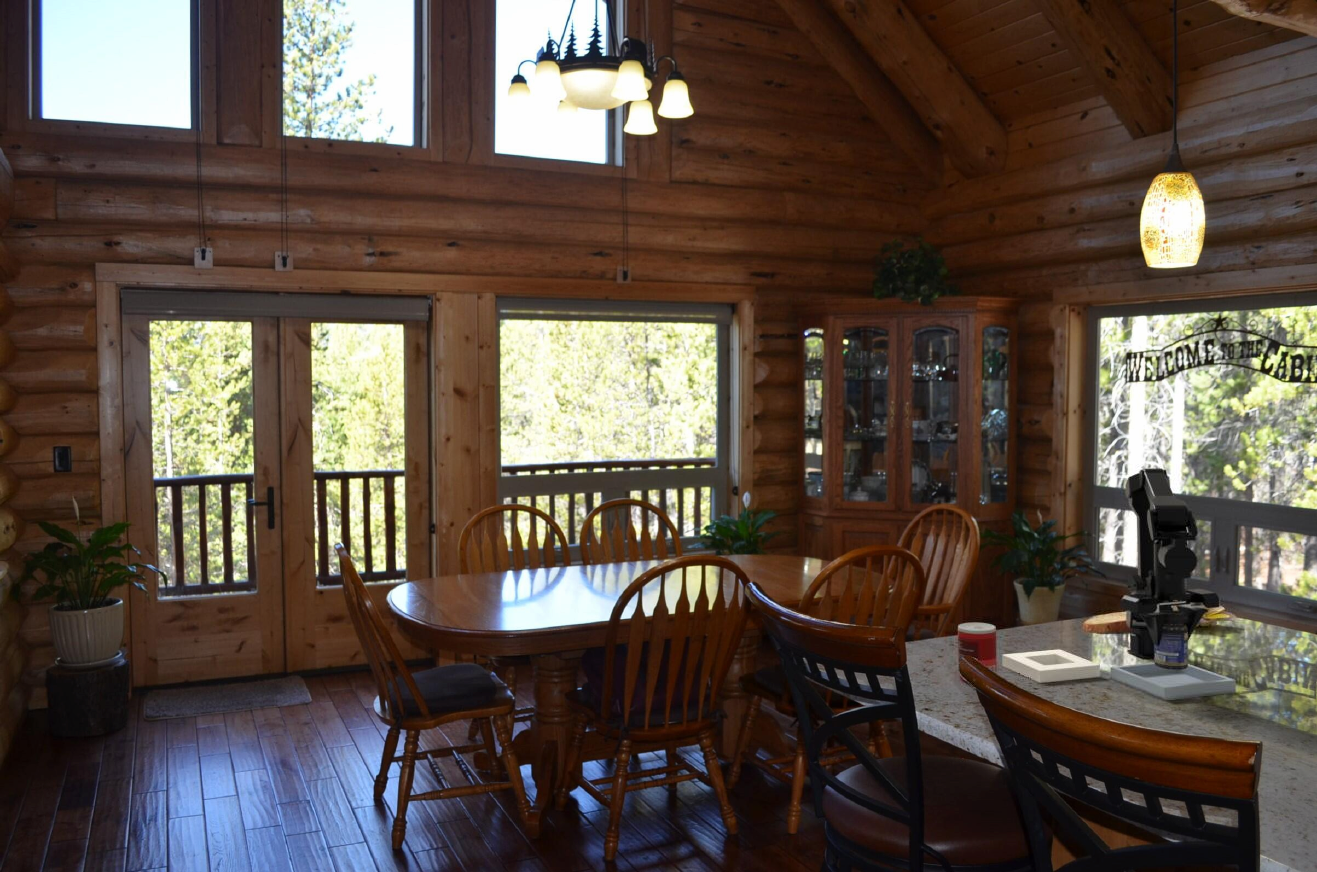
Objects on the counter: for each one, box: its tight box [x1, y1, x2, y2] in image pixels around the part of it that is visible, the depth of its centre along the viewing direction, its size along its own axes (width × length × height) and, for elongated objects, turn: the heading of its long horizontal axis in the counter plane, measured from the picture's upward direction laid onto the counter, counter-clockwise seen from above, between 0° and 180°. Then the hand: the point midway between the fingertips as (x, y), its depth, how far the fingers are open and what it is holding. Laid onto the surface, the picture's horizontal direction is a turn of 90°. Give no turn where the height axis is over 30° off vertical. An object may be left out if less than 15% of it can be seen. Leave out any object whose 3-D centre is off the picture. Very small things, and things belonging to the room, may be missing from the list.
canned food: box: [957, 622, 998, 682], centre depth 218 cm, size 8×8×11 cm
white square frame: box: [1001, 649, 1101, 684], centre depth 222 cm, size 14×14×2 cm
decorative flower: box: [1172, 600, 1239, 628], centre depth 256 cm, size 15×11×10 cm
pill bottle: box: [1153, 610, 1189, 670], centre depth 208 cm, size 6×6×11 cm
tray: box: [1109, 662, 1237, 701], centre depth 209 cm, size 16×16×2 cm
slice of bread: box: [1082, 611, 1135, 634], centre depth 260 cm, size 18×18×4 cm
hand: (1170, 643), depth 208 cm, fingers closed on pill bottle, 6 cm apart
